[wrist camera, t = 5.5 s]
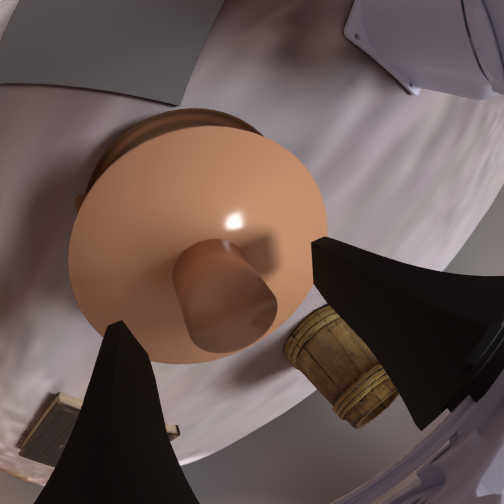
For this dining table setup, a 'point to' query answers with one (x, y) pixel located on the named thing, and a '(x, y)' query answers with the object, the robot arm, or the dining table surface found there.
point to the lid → (197, 242)
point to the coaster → (108, 44)
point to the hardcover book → (60, 431)
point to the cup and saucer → (157, 127)
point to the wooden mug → (340, 367)
